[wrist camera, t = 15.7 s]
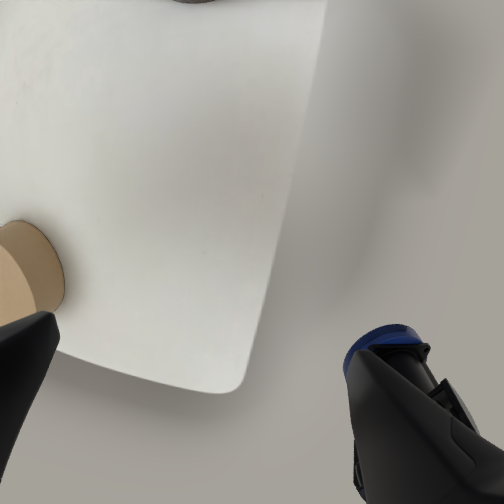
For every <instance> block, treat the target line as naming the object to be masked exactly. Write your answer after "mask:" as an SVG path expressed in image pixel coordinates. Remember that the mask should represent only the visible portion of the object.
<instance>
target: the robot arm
mask: <svg viewBox="0 0 504 504" xmlns="http://www.w3.org/2000/svg"><path fill="white" fill-rule="evenodd" d="M59 340H60V333H59V329H58V326H57V322H56V318H55V315H54V314H53V313H52V312H48V311H44V310H42V311H39V312H36V313H34V314H31V315H29V316H26V317H24V318H21V319H18V320H16V321H13V322H11V323H8V324H6V325H3V326H1V327H0V483H1V478H2V476H3V473H4V471H5V468H6V465H7V462H8V459H9V457H10V454H11V452H12V449H13V446H14V444H15V441H16V439H17V437H18V434H19V432H20V429H21V427H22V425H23V422H24V420H25V418H26V416H27V413H28V411H29V409H30V407H31V405H32V403H33V400H34V398H35V396H36V394H37V392H38V390H39V388H40V386H41V384H42V382H43V380H44V377H45V375H46V372H47V370H48V368H49V365H50V363H51V360H52V358H53V355H54V353H55V350H56V348H57V346H58V343H59ZM425 348H426V349H425ZM430 348H431V347H430V345H429V344H428V343H411V344H371V345H369V346H368V347H367V349H366V350H356V351H355V352H354V354H353V357H352V359H351V362H350V365H349V367H348V370H347V375H346V379H347V388H348V397H349V407H350V417H351V424H352V429H353V434H354V438H355V440H354V481H353V482H354V485H355V486H356V489H357V490H358V492H359V494H360V496H361V497H362V498H363V499H364V500H365V501H366V503H367V504H504V451H503V450H501V449H500V448H498V447H496V446H495V445H493V444H491V443H490V442H489V441H487V440H486V439H484V438H482V437H481V436H480V433H479V431H478V429H477V427H476V425H475V422H474V420H473V418H472V416H471V414H470V412H469V411H468V409H467V407H466V406H465V404H464V402H463V401H462V399H461V398H460V397H459V395H458V394H457V392H456V391H455V390H454V388H453V387H452V386H451V384H450V383H449V382H448V380H447V379H446V378H445V379H444V380H443V381H441V382H440V384H439V385H438V383H437V381H436V380H435V378H434V376H433V374H432V373H431V371H430V370H429V368H428V366H427V364H426V363H425V359H426V357H427V355H428V353H429V351H430ZM373 349H374V350H373ZM371 350H373V351H371Z"/></svg>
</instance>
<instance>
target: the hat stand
mask: <svg viewBox="0 0 504 504" xmlns="http://www.w3.org/2000/svg"><path fill="white" fill-rule="evenodd" d="M174 1H178V2H183V3H204V2H210V1H214V0H174Z"/></svg>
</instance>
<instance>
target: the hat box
mask: <svg viewBox="0 0 504 504" xmlns="http://www.w3.org/2000/svg"><path fill="white" fill-rule="evenodd" d="M63 295H64V276H63V271H62V268H61V264H60V262H59V259H58V257H57V255H56V253H55V251H54V249H53V247H52V245H51V244H50V242H49V241H48V240H47V238H46V237H45V236H44V235H43V234H42V233H41V232H40V231H39V230H38V229H37V228H35V227H34V226H32V225H31V224H29V223H26V222H23V221H12V222H10V223H8V224H6V225H4V226H2V227H0V327H1V326H3V325H6V324H8V323H11V322H13V321H16V320H18V319H21V318H24V317H26V316H29V315H31V314H34V313H36V312H39V311H42V310H44V311H48V312H52V313H53V312H54V311H55V310H56V309H57V308H58V307H59V305H60V304H61V302H62V299H63Z"/></svg>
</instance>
